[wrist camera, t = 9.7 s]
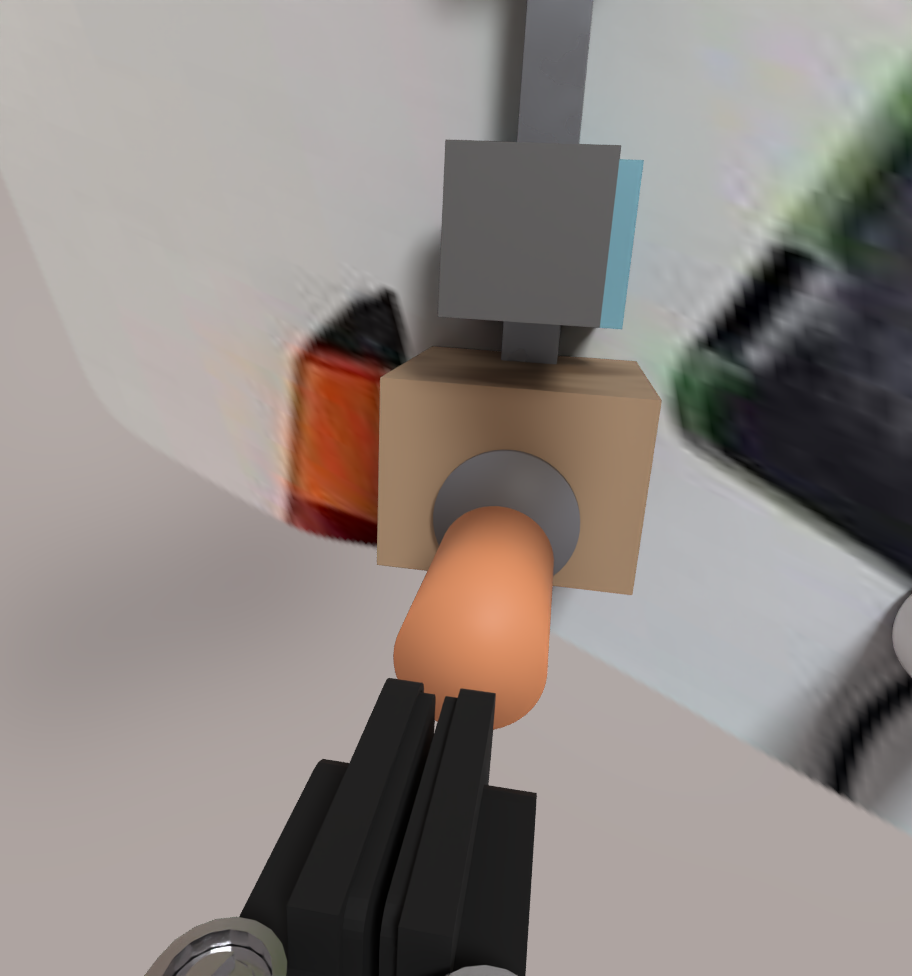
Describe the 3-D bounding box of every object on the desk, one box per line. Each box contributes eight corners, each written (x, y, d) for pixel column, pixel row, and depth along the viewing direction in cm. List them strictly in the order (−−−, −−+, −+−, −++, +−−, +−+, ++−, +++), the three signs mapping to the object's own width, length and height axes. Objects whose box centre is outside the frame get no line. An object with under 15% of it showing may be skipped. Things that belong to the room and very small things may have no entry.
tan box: (636, 361, 26) (662, 402, 19) (615, 511, 28) (632, 605, 21) (422, 345, 28) (364, 378, 20) (417, 491, 30) (361, 573, 22)
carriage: (632, 176, 24) (670, 121, 15) (615, 319, 26) (639, 351, 17) (466, 169, 25) (404, 114, 16) (459, 309, 27) (398, 334, 17)
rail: (658, -163, 21) (676, -252, 18) (596, 358, 27) (600, 374, 23) (499, -159, 22) (484, -245, 18) (469, 349, 27) (453, 362, 24)
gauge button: (559, 512, 17) (554, 605, 13) (547, 618, 18) (539, 741, 14) (442, 500, 18) (395, 586, 13) (437, 604, 19) (392, 718, 14)
